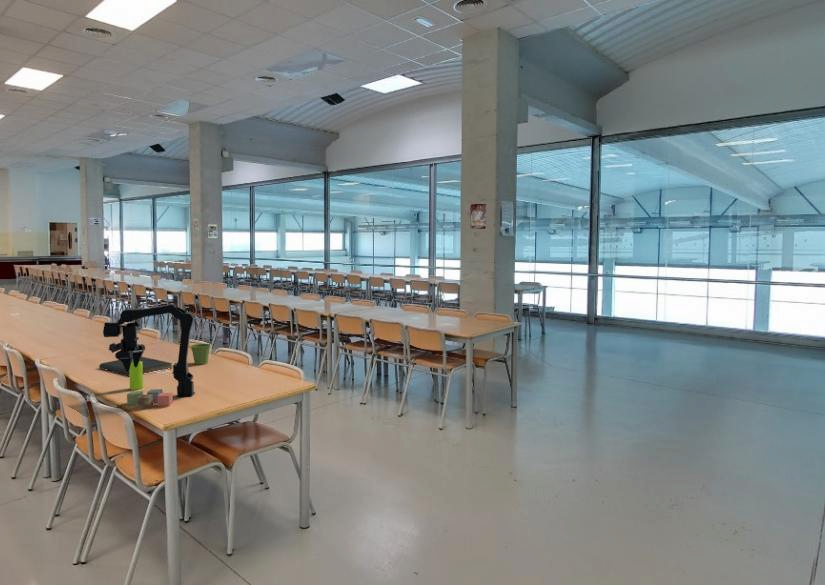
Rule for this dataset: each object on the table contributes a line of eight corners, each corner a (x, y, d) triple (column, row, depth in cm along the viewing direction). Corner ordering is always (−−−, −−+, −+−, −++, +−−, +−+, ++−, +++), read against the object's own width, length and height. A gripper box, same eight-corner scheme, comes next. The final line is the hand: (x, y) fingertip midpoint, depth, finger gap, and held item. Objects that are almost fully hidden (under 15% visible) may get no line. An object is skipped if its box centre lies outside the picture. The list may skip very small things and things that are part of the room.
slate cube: (162, 399, 249) (162, 389, 248) (158, 402, 244) (158, 392, 243) (151, 400, 248) (151, 389, 248) (147, 403, 243) (147, 392, 243)
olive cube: (143, 401, 245) (142, 391, 245) (139, 405, 240) (138, 394, 240) (131, 402, 245) (131, 391, 244) (127, 405, 240) (126, 394, 239)
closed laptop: (172, 362, 309) (131, 371, 289) (172, 369, 310) (131, 378, 290) (139, 355, 327) (99, 363, 307) (140, 362, 328) (99, 370, 307)
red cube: (172, 403, 244) (172, 392, 243) (169, 406, 239) (168, 395, 238) (161, 403, 243) (160, 392, 242) (157, 407, 238) (157, 395, 238)
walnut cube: (153, 405, 240) (152, 394, 240) (149, 408, 235) (148, 397, 235) (141, 405, 239) (141, 394, 239) (137, 409, 235) (136, 398, 234)
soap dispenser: (132, 386, 270) (131, 347, 268) (145, 387, 270) (144, 347, 268) (125, 389, 264) (123, 349, 263) (138, 390, 264) (137, 350, 262)
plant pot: (215, 362, 328) (215, 343, 327) (204, 366, 317) (204, 347, 316) (197, 361, 330) (197, 342, 329) (186, 365, 319) (185, 346, 318)
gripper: (120, 333, 256) (122, 365, 258) (101, 340, 238) (104, 374, 239) (144, 332, 257) (146, 364, 259) (128, 339, 239) (130, 374, 240)
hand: (131, 369), depth 249 cm, fingers open, 9 cm apart
